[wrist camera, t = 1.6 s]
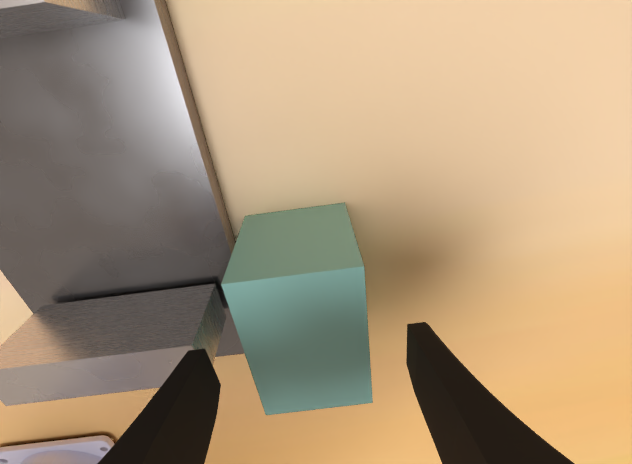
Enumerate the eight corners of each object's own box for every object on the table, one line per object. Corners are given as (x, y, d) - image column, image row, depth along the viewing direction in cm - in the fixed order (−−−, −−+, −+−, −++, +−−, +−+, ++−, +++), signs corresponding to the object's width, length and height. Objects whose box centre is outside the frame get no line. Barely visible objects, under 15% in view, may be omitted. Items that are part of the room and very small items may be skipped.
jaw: (226, 316, 15) (208, 381, 12) (64, 336, 15) (5, 406, 12) (215, 283, 14) (191, 345, 11) (42, 305, 14) (-28, 372, 11)
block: (354, 316, 18) (372, 402, 13) (274, 326, 18) (266, 415, 13) (344, 201, 14) (364, 266, 10) (245, 214, 14) (221, 284, 10)
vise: (262, 336, 18) (252, 416, 14) (89, 358, 18) (30, 442, 14) (133, -108, 9) (5, -234, 5) (-200, -55, 9) (-573, -139, 5)
